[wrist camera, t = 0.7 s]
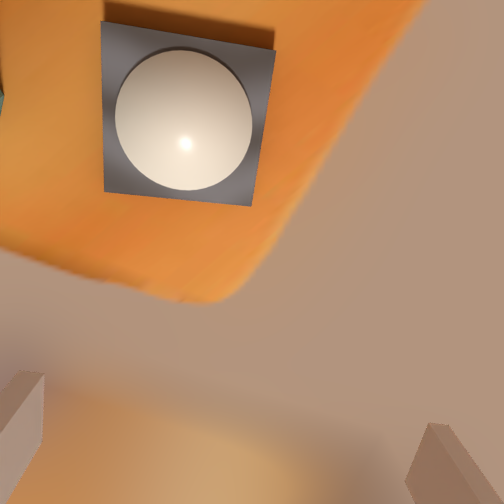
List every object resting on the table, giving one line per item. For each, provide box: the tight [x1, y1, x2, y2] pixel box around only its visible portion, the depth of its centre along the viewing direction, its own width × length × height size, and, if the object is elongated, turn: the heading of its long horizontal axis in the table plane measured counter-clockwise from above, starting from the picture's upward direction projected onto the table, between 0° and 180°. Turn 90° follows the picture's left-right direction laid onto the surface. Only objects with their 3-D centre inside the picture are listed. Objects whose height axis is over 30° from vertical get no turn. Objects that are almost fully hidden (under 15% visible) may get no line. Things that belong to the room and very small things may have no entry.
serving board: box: [101, 21, 276, 206], centre depth 33 cm, size 13×13×2 cm
